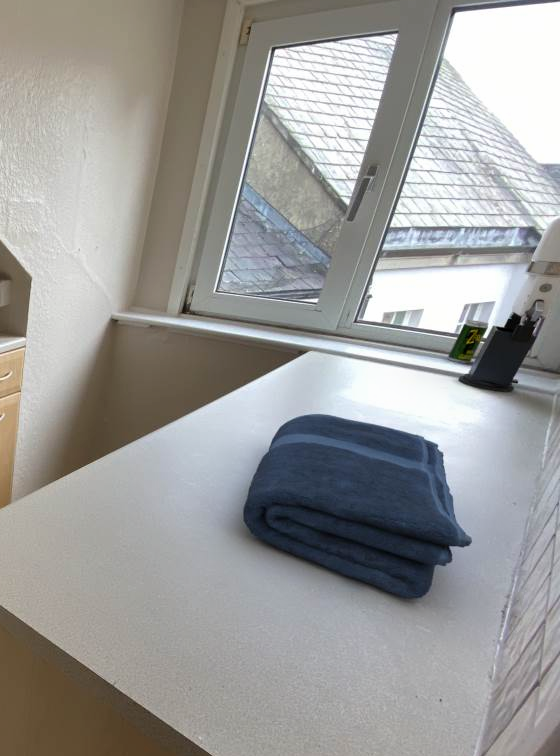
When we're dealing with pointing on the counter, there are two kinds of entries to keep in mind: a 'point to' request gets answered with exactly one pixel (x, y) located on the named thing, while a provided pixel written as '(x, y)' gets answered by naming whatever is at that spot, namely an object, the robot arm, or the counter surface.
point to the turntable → (485, 386)
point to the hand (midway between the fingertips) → (513, 337)
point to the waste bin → (499, 359)
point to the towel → (356, 501)
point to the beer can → (468, 341)
